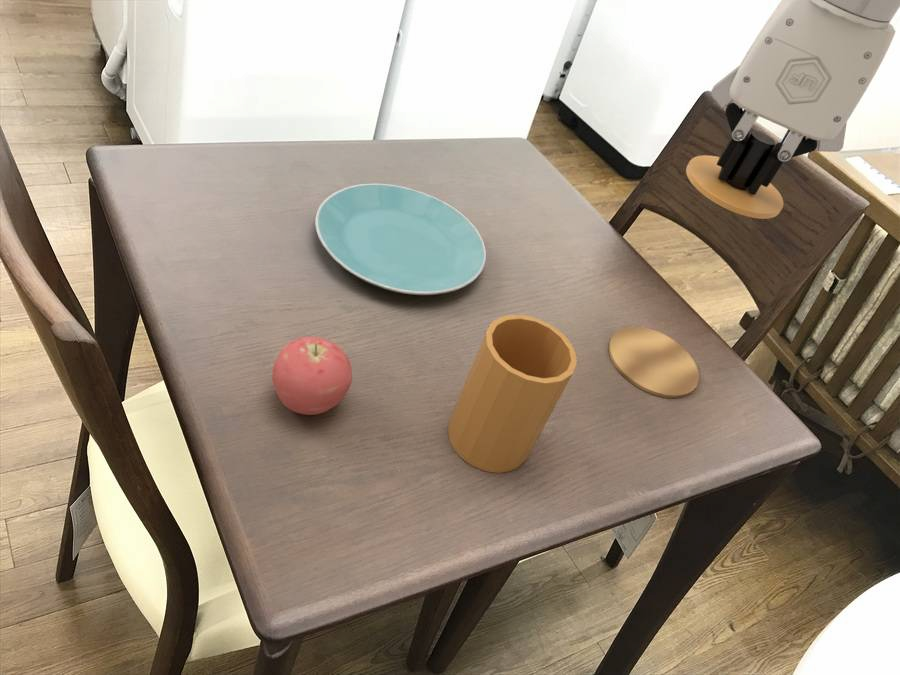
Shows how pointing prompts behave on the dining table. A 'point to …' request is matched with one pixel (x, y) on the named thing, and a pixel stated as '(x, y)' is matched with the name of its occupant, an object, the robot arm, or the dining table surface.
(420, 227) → the plate
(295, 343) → the apple
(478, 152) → the dining table surface
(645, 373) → the coaster
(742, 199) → the shaker lid
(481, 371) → the cup
